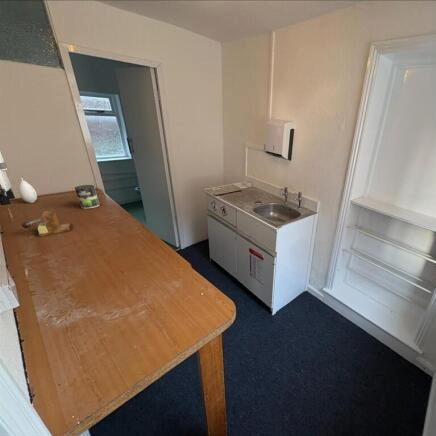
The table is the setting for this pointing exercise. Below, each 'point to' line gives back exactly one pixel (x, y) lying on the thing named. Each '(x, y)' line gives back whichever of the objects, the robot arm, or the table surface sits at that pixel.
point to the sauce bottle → (27, 192)
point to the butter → (42, 229)
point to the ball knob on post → (28, 224)
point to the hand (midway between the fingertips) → (8, 201)
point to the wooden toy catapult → (53, 224)
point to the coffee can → (87, 196)
